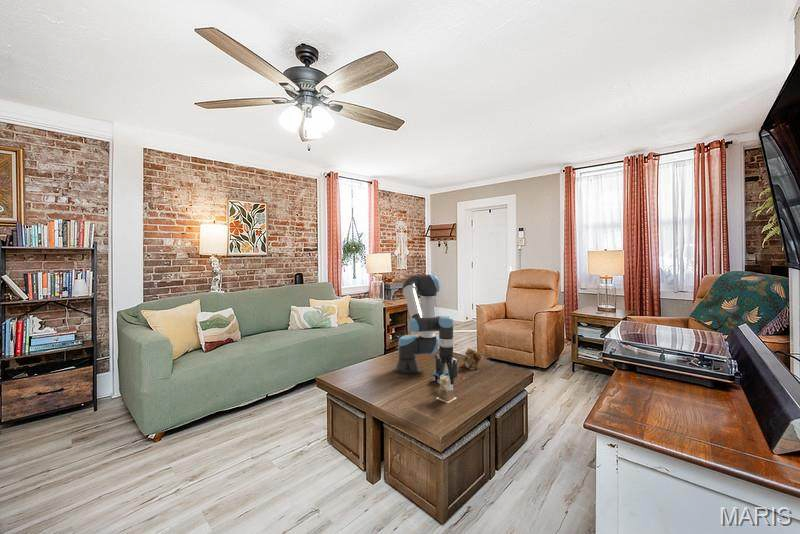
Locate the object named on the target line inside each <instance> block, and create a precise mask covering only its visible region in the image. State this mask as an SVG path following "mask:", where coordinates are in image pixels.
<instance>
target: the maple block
mask: <svg viewBox="0 0 800 534" xmlns="http://www.w3.org/2000/svg"><path fill="white" fill-rule="evenodd" d="M449 378H450V377H448V376H444V377H442V378H440V384H439V389H441V390H443V391H446V392H448V391H449Z"/></svg>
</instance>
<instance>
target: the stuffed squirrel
mask: <svg viewBox="0 0 800 534" xmlns="http://www.w3.org/2000/svg"><path fill="white" fill-rule="evenodd" d="M482 357H483V355H482V354H481V352H477V351H476V350H474V349H472V348H469V347H468V348H467V350H466V351H465V353H464V357H463V358H462V361H463V363H462V364H460V368H466V369H469V370H470V371H474V370H476V369H477V366H479V364H480V361H481V360H482Z"/></svg>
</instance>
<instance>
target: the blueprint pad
mask: <svg viewBox="0 0 800 534" xmlns="http://www.w3.org/2000/svg"><path fill="white" fill-rule="evenodd" d="M456 399H457V397H455V396H454V398H453V399H452V400H450V401H448V402H447V401H445V400H442V399H439V396H438V397H436V400H439V401H442V402H443V403H444V402H445V403H447V404H449V403H450V402H452V401H454V400H456Z"/></svg>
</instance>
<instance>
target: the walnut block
mask: <svg viewBox="0 0 800 534" xmlns="http://www.w3.org/2000/svg"><path fill="white" fill-rule="evenodd" d="M438 397H439V399H442V400H445V401H447V402H448V401H450V400H452V399H453V398H454V397H455V388H453V390H451V391H448V392H446V391H443V390H441V389H440V388H438ZM439 399H438V400H439ZM442 400H441V401H442ZM452 401H453V400H452ZM447 402H446V403H447Z"/></svg>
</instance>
